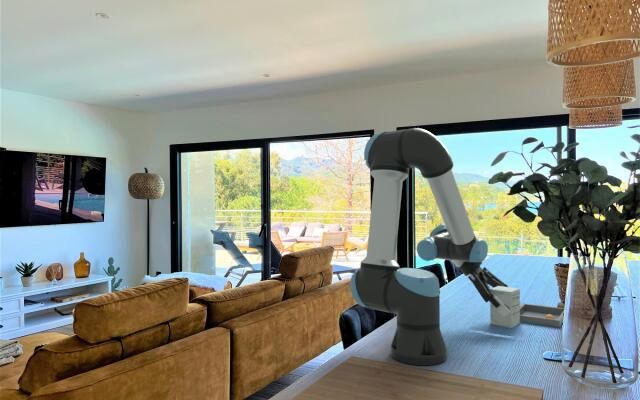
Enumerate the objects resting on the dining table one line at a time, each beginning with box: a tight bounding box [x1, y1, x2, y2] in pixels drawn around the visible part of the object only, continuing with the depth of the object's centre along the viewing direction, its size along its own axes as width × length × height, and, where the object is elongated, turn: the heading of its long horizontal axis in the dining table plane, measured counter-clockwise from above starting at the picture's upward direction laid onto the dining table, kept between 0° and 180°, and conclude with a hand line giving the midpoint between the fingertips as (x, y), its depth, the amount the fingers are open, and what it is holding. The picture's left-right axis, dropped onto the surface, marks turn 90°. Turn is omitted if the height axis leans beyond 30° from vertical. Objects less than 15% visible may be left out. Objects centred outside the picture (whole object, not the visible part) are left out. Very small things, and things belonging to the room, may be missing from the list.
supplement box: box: [489, 286, 521, 329], centre depth 151 cm, size 7×7×13 cm
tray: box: [520, 303, 564, 328], centre depth 158 cm, size 18×15×3 cm
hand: (512, 310), depth 150 cm, fingers open, 12 cm apart
